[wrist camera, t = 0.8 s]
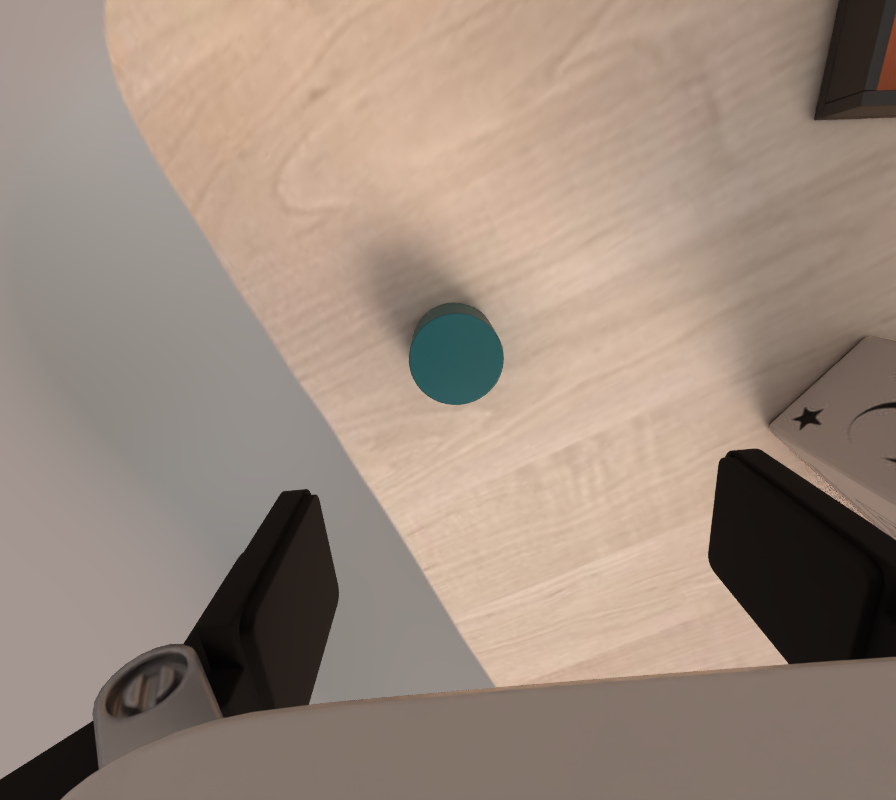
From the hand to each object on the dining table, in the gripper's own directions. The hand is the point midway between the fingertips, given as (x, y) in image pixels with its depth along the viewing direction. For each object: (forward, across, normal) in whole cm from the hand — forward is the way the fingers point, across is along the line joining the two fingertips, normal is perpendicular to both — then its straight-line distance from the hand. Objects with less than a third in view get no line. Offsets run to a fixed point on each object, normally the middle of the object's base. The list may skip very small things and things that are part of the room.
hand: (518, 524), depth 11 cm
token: (+17, +1, -1) cm, 17 cm away
